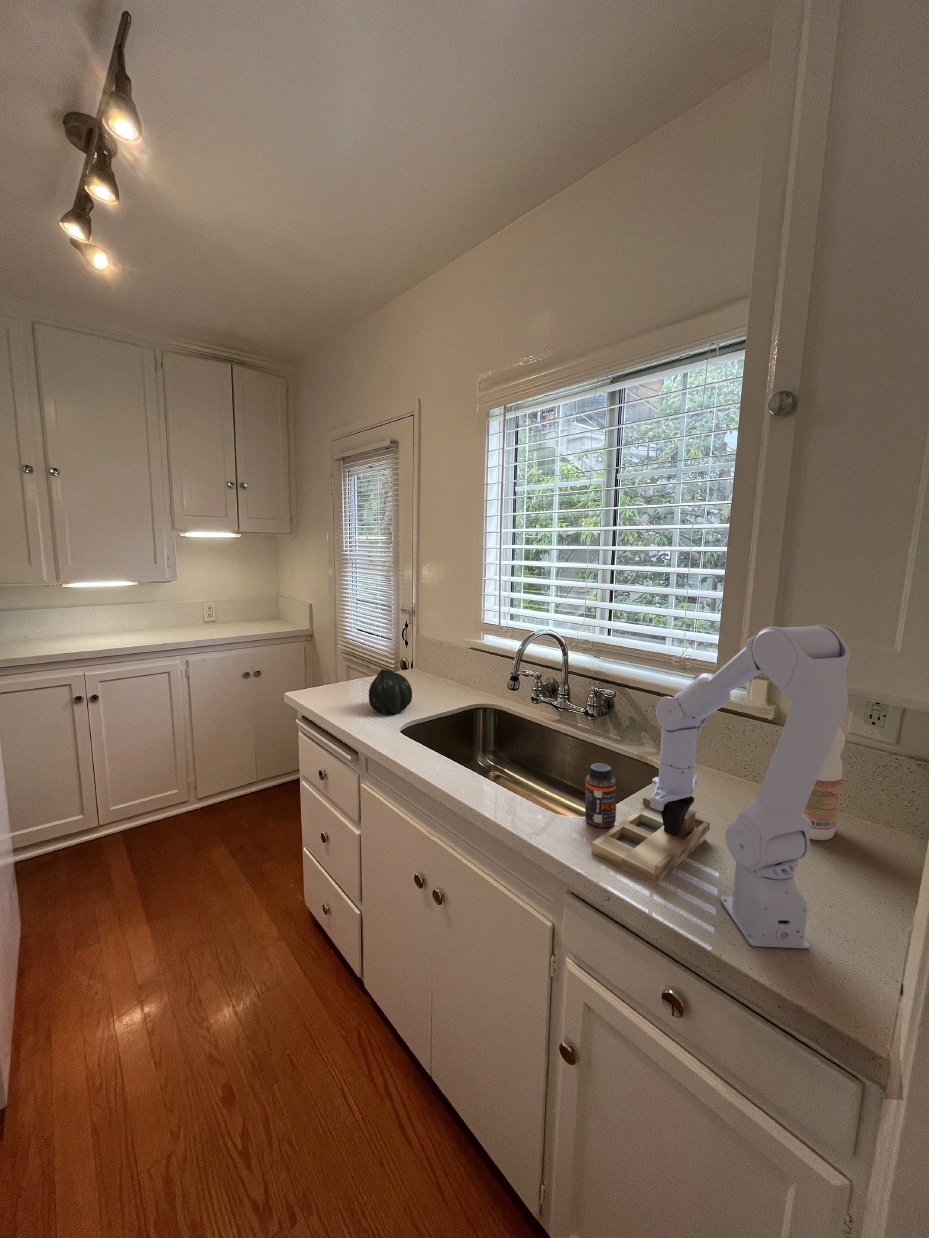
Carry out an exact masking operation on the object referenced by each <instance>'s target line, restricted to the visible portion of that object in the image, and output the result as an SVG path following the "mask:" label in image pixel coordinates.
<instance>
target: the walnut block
mask: <svg viewBox="0 0 929 1238" xmlns="http://www.w3.org/2000/svg"><path fill="white" fill-rule="evenodd" d="M695 816H696V811H695V810H692V809H690V808H689V809H688V811H687V813H686V815H685V818H684V821H683V823H682V826H681V829H680V832H679V834H678V835H677V837H679V838H682V839H686V838H687V837H688V836H689V835H690V834H691V833H692V832H693V831H694V827H695ZM664 831H665V830H664Z"/></svg>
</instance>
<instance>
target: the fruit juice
mask: <svg viewBox="0 0 929 1238" xmlns="http://www.w3.org/2000/svg"><path fill="white" fill-rule="evenodd" d="M845 746H846V735H845V733H844V731H843V729H842V727H841V725H840V726H839V729H838V731H837V733H836V736H835V738H834V740H833V743H832V745H831V748H830V750H829V752H828V755H827V757H826V760H825V762H824V764H823V767H822V769H821V771H820V774H819V776H818V779H817V781H816V783H815V786H814V788H813V791H812V793H811V795H810V798H809V800H808V802H807V805H806V807H805V810H804V812H803V813H804V814H805V815H806V817H807V818H808V819H809V820H810V822H811V823H812V826H811V828H810V831H809V840H814V841H826V840H830V839H832V838H833V837H834V835H835V833H836V827H837V819H838V811H839V803H840V793H841V787H842V779H843V778H842V777H843V769H844V768H843V760H842V758H841V754H842V751H843V750H844V748H845Z"/></svg>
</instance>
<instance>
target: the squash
mask: <svg viewBox="0 0 929 1238" xmlns="http://www.w3.org/2000/svg"><path fill="white" fill-rule="evenodd" d="M412 699H413V689H412V686H411V683H410V681H408V679H407V678H406V677H405V676H404V675H402V674H400V673H399V672H396V671H392V670H390V669H383V668H382V669H380V671H379V672H378V673H377V675H376V677H375V678H374V679H373V680H372V681H371V684H370V686H369V689H368V702H369V705H370V707H371V708H372V710H374V711H375V710H376V712H378V711H381V712H380V713H382V714H384V713H388V712H390V714H392V713H396V714H398V713H399V712H400V711H404V710H406V709H407V708H408V706H409V705H410V704H411V703H412ZM388 714H389V713H388Z"/></svg>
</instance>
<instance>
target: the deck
mask: <svg viewBox="0 0 929 1238" xmlns="http://www.w3.org/2000/svg"><path fill="white" fill-rule="evenodd" d="M650 801H651V797H650V798H649V797H648V796H643V797H642V807H641V808H640V809H638V810H637V811H635V812H634V813H632V814H631V815H630V816H628V817H627V818H625V819H624V820H623V821H621V822H619V823H618V824H616V825H615V826H614V827H612V828H611V829H609V830H607V831H606V832H605V833H603V834H602V835H601V836H599V837H597V838H596V839H595V840H593V841H592V842H591V854H593V855H594V856H597V857H598V858H600V859H603V860H605V861H606V862H608V863H610V864H612V865H615V866H616V867H618V868H620V869H621V870H623V871H625V872H627V873H629V874H632V875H634V876H635V877H638V878H639V879H641V880H643V881H645V882H647V883H649V884H651V885H653V886H655V887H656V886H657V885H658V884H659V883H660V882H662V880H664V879H665V878H666V877H667V876H668V875H669V874H670V873H671V872H672V871H673V870H674V869H675V868H677V867H678V865H680V864H681V863H682V862H683V861H684V860H685V859H686V858H687V857H688V856H690V854H691V853H693V851H695V849H697V848H698V847H699V846H700V845H701V844H702V843H703V842H704V841H705V840H706V837H707V833H708V832H709V831H710V830H711V829H710V827H711V821H709V820H706V819H703V818H701V817H698V816H697V815H695V827H694V831H693V832H692V833H691V834H690V835H689V836H688V837H687V838H686V839H682V838H679V837H677V836H676V837H675V836H673V835H670V834H668V833H666V832H665V831H664V825H663V820H662V815H661V812H660V811H659V810H657V809H654V808H652V807H650Z"/></svg>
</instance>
